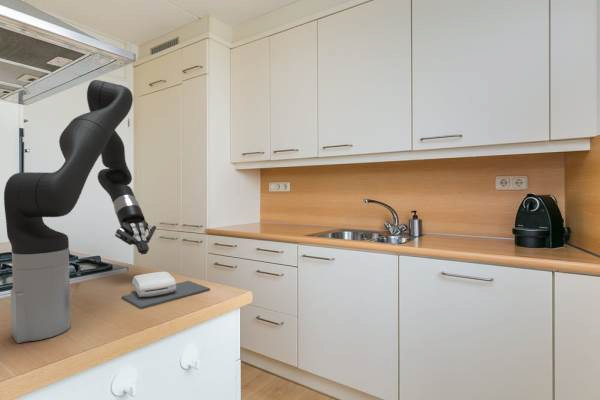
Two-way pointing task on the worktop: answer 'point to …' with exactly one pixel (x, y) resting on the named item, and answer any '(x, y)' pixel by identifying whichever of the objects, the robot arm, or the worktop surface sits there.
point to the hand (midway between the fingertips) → (144, 252)
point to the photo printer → (154, 284)
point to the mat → (166, 295)
